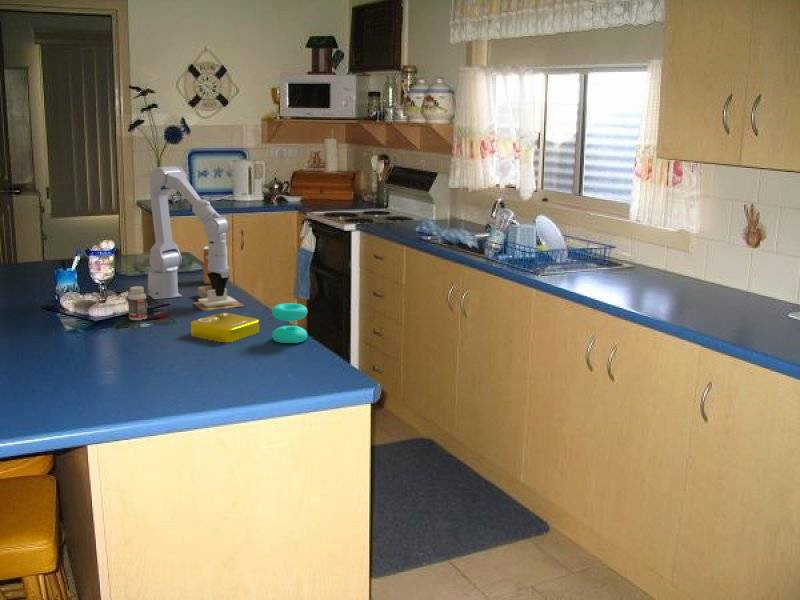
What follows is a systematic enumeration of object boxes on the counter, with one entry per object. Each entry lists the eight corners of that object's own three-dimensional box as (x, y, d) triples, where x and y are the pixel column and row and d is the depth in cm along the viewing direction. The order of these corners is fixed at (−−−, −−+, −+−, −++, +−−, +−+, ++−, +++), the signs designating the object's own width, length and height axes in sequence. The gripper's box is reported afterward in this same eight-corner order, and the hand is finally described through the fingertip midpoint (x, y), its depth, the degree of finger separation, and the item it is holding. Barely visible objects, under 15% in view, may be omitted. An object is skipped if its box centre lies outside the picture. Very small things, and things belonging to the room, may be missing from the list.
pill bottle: (140, 321, 256) (139, 290, 253) (125, 319, 257) (123, 288, 255) (150, 317, 261) (149, 286, 258) (135, 315, 262) (134, 284, 260)
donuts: (296, 312, 232) (265, 308, 236) (296, 347, 235) (265, 342, 238) (313, 304, 241) (283, 300, 245) (313, 338, 244) (283, 333, 247)
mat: (203, 311, 269) (203, 310, 269) (192, 303, 279) (192, 302, 278) (244, 306, 276) (244, 305, 276) (233, 299, 286) (233, 298, 285)
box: (207, 302, 281) (207, 293, 280) (198, 295, 289) (197, 287, 289) (227, 300, 285) (227, 291, 284) (217, 293, 293) (217, 285, 292)
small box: (204, 284, 307) (203, 248, 304) (205, 280, 313) (204, 245, 310) (226, 284, 308) (225, 248, 305) (227, 280, 314) (227, 245, 311)
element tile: (227, 345, 236) (227, 329, 235) (187, 336, 243) (187, 320, 242) (262, 333, 248) (261, 317, 247) (223, 325, 256) (223, 310, 255)
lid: (237, 305, 277) (236, 290, 276) (205, 308, 271) (205, 293, 270) (229, 300, 283) (228, 285, 282) (198, 303, 278) (197, 288, 277)
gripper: (237, 257, 269) (237, 298, 273) (221, 249, 281) (222, 289, 285) (215, 259, 266) (216, 300, 269) (201, 251, 278) (202, 291, 281)
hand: (218, 295), depth 277 cm, fingers closed on lid
